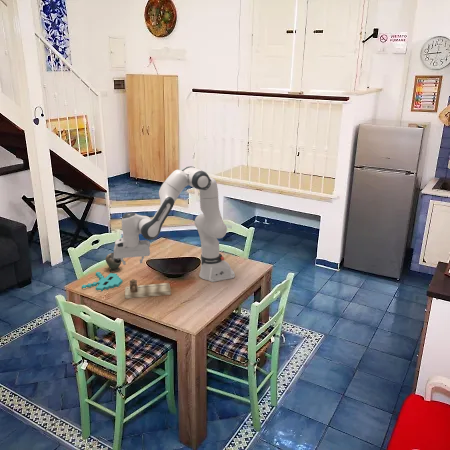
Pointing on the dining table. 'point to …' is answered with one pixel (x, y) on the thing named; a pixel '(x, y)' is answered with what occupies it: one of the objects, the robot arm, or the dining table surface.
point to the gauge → (133, 285)
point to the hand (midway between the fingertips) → (132, 263)
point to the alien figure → (105, 282)
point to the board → (148, 290)
